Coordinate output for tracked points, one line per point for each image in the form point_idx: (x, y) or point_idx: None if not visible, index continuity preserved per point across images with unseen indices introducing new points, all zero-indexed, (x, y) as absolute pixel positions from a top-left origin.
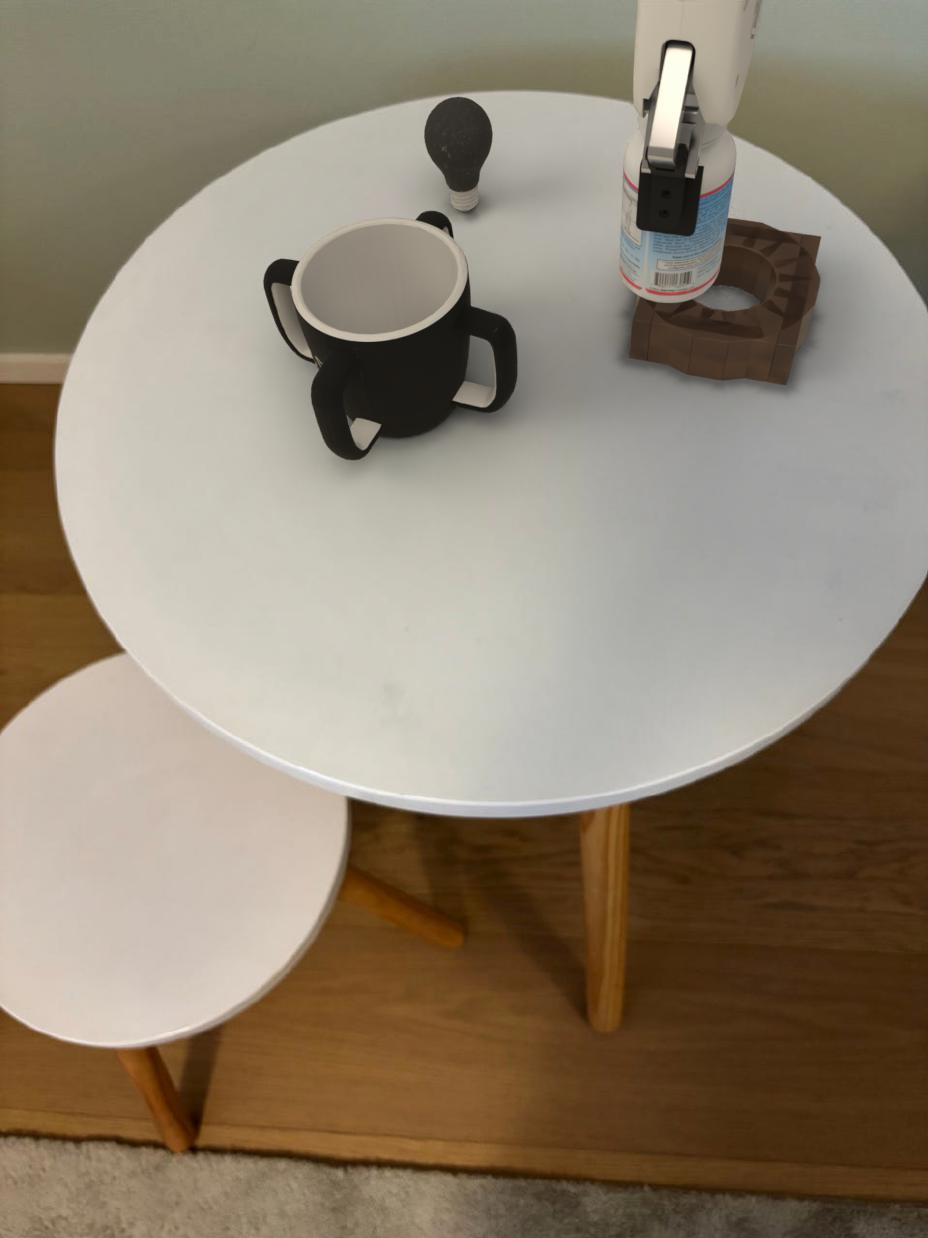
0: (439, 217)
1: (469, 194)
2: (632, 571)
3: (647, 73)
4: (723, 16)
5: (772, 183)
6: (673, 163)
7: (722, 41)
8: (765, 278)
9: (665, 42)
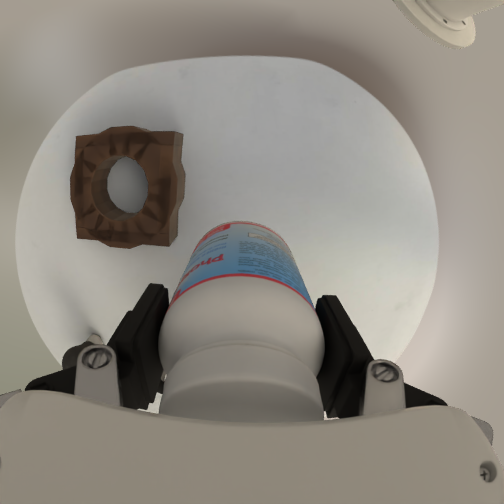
0: (160, 386)
1: (96, 342)
2: (340, 212)
3: None
4: None
5: (34, 177)
6: (474, 417)
7: None
8: (107, 163)
9: None
